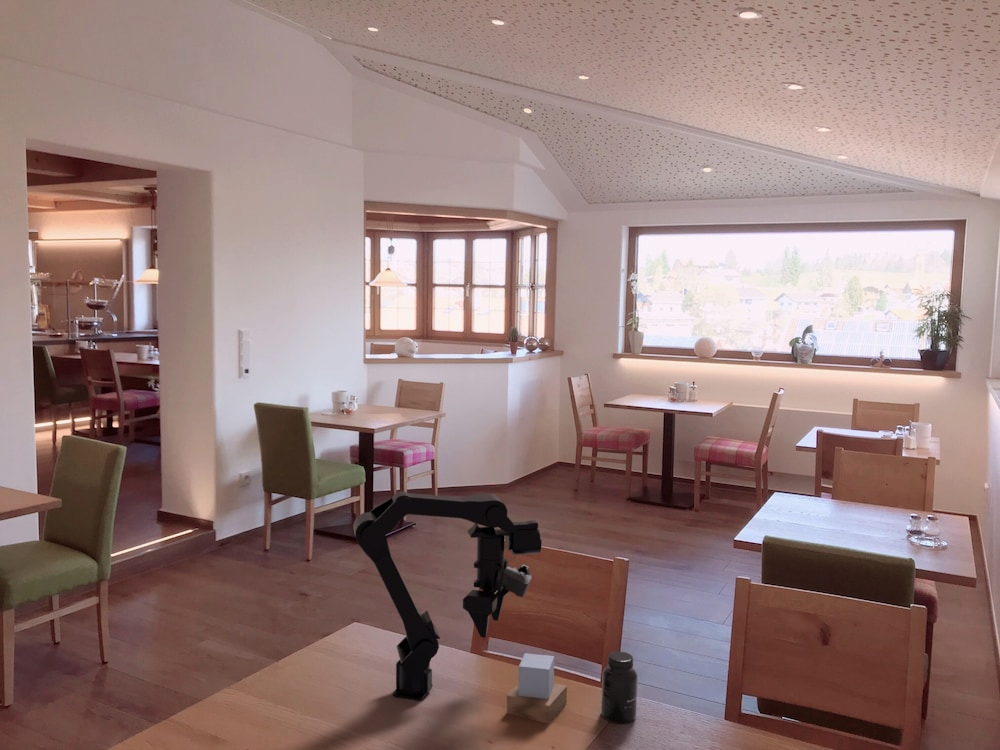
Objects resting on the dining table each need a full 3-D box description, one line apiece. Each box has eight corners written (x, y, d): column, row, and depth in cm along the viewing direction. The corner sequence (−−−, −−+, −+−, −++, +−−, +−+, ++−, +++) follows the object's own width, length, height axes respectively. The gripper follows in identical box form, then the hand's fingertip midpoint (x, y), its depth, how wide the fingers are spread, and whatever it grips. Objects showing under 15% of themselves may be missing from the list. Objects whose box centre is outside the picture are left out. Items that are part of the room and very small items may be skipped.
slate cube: (518, 695, 157) (518, 666, 156) (524, 681, 162) (524, 653, 162) (548, 699, 155) (549, 669, 155) (553, 684, 161) (554, 656, 161)
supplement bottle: (635, 726, 153) (637, 665, 151) (599, 722, 154) (601, 662, 153) (636, 708, 159) (638, 650, 158) (602, 704, 161) (603, 647, 160)
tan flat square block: (506, 714, 157) (506, 695, 157) (525, 695, 165) (526, 676, 165) (548, 726, 153) (549, 706, 153) (566, 705, 161) (566, 686, 161)
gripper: (516, 574, 155) (515, 652, 157) (538, 546, 173) (537, 616, 175) (462, 568, 158) (461, 644, 160) (489, 541, 176) (488, 610, 178)
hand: (489, 628), depth 168 cm, fingers open, 9 cm apart
